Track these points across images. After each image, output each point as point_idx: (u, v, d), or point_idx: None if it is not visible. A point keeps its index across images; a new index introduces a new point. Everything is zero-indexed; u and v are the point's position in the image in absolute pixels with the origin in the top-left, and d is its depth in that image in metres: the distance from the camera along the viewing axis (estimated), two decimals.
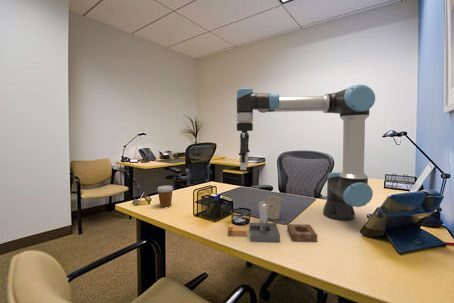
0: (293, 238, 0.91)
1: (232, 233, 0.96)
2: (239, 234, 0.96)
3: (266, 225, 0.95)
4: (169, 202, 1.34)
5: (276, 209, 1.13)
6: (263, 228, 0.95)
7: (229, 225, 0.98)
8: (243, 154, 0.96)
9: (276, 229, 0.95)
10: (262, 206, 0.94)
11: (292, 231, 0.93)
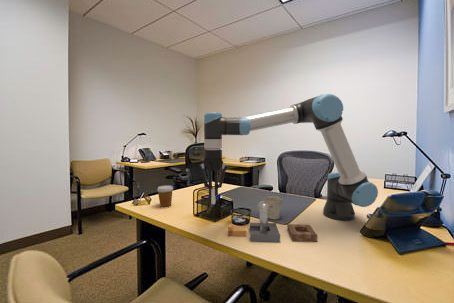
0: (293, 238, 0.91)
1: (232, 233, 0.96)
2: (239, 234, 0.96)
3: (266, 225, 0.95)
4: (169, 202, 1.34)
5: (276, 209, 1.13)
6: (263, 228, 0.95)
7: (229, 225, 0.98)
8: None
9: (276, 229, 0.95)
10: (262, 206, 0.94)
11: (292, 231, 0.93)
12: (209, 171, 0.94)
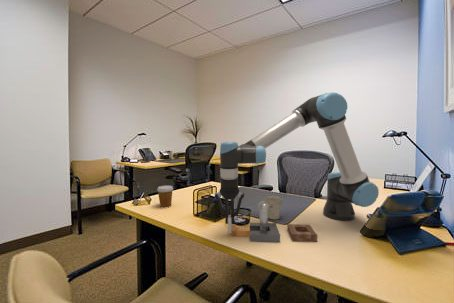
0: (293, 238, 0.91)
1: (235, 233, 0.96)
2: (243, 234, 0.96)
3: (266, 225, 0.95)
4: (169, 202, 1.34)
5: (276, 209, 1.13)
6: (263, 228, 0.95)
7: (232, 225, 0.97)
8: None
9: (276, 229, 0.95)
10: (262, 206, 0.94)
11: (292, 231, 0.93)
12: (226, 200, 0.95)
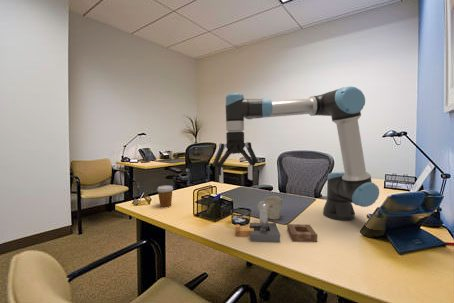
0: (293, 238, 0.91)
1: (239, 233, 0.96)
2: (246, 234, 0.96)
3: (266, 225, 0.95)
4: (169, 202, 1.34)
5: (276, 209, 1.13)
6: (263, 228, 0.95)
7: (236, 225, 0.97)
8: (215, 166, 0.91)
9: (276, 229, 0.95)
10: (262, 206, 0.94)
11: (292, 231, 0.93)
12: (230, 152, 0.92)
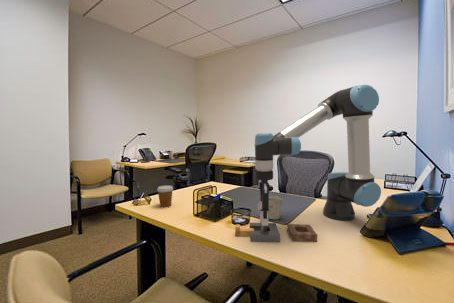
0: (293, 238, 0.91)
1: (239, 233, 0.96)
2: (246, 234, 0.96)
3: None
4: (169, 202, 1.34)
5: (276, 209, 1.13)
6: (264, 226, 0.95)
7: (236, 225, 0.97)
8: (266, 211, 0.91)
9: (276, 229, 0.95)
10: None
11: (292, 231, 0.93)
12: None
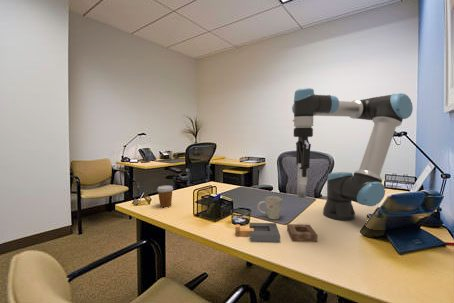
0: (293, 238, 0.91)
1: (239, 233, 0.96)
2: (246, 234, 0.96)
3: (305, 185, 0.92)
4: (169, 202, 1.34)
5: (276, 209, 1.13)
6: (302, 188, 0.92)
7: (236, 225, 0.97)
8: (306, 168, 0.89)
9: (276, 229, 0.95)
10: None
11: (292, 231, 0.93)
12: None
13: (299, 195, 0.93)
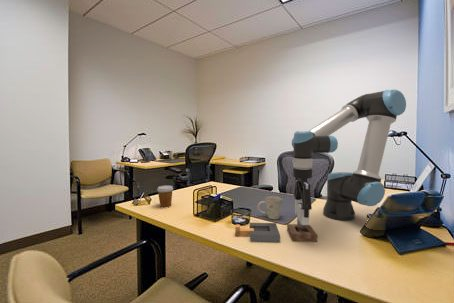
0: (293, 238, 0.91)
1: (239, 233, 0.96)
2: (246, 234, 0.96)
3: (304, 226, 0.94)
4: (169, 202, 1.34)
5: (276, 209, 1.13)
6: (302, 228, 0.94)
7: (236, 225, 0.97)
8: (308, 209, 0.86)
9: (276, 229, 0.95)
10: (301, 206, 0.93)
11: (292, 231, 0.93)
12: None
13: None
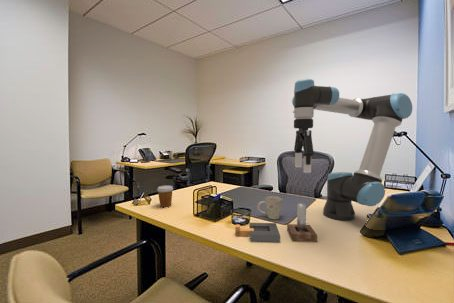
0: (293, 238, 0.91)
1: (239, 233, 0.96)
2: (246, 234, 0.96)
3: (304, 226, 0.94)
4: (169, 202, 1.34)
5: (276, 209, 1.13)
6: (302, 228, 0.94)
7: (236, 225, 0.97)
8: (310, 155, 0.83)
9: (276, 229, 0.95)
10: (301, 206, 0.93)
11: (292, 231, 0.93)
12: None
13: None
